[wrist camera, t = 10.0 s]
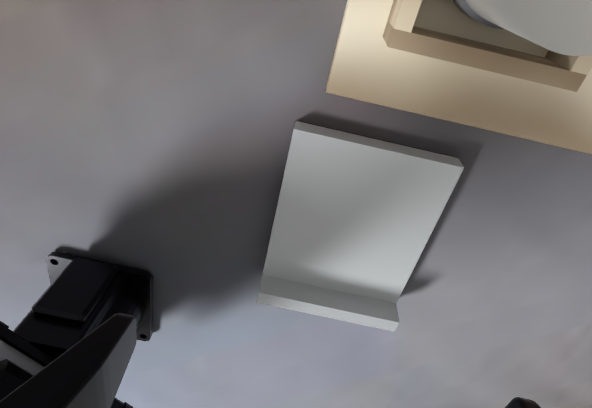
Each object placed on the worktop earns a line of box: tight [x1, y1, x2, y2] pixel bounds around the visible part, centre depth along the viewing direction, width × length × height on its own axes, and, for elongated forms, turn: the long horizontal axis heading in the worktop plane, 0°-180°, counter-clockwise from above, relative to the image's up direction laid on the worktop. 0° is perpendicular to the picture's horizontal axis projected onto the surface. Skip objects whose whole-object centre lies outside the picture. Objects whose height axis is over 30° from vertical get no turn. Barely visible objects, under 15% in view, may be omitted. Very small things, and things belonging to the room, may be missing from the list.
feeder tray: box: [256, 121, 464, 332], centre depth 20 cm, size 10×8×2 cm
